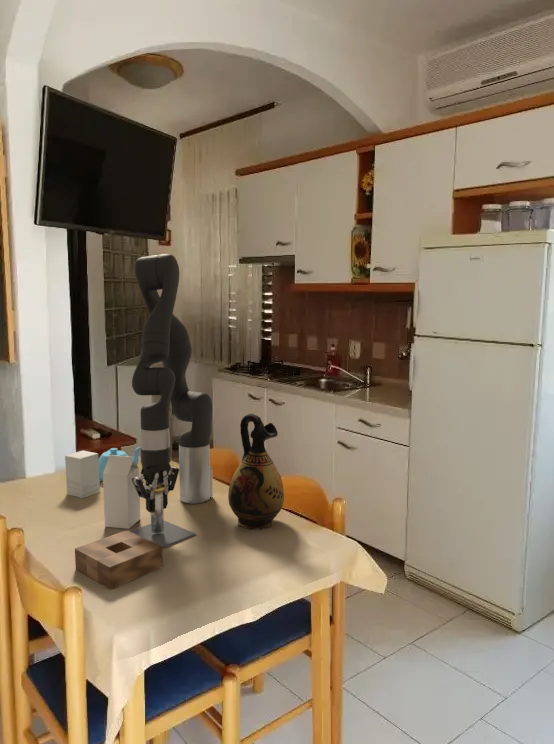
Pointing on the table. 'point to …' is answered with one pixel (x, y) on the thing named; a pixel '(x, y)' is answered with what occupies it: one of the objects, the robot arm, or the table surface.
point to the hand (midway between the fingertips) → (156, 509)
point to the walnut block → (118, 558)
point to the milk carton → (120, 492)
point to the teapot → (114, 452)
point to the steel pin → (158, 511)
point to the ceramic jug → (256, 479)
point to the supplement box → (82, 474)
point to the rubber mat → (164, 534)
